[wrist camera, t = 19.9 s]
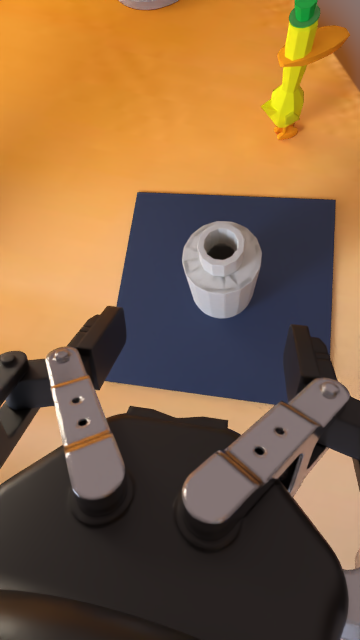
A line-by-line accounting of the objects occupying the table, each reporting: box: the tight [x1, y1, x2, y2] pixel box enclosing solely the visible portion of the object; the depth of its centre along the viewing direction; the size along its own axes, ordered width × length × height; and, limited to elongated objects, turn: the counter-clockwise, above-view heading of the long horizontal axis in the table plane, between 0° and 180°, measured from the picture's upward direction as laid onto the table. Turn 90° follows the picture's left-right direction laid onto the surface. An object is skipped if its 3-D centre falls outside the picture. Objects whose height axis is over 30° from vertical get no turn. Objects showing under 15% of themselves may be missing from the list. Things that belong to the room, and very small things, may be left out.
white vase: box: [182, 221, 262, 318], centre depth 26 cm, size 6×6×10 cm
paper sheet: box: [105, 192, 336, 405], centre depth 31 cm, size 20×20×1 cm
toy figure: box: [261, 0, 350, 140], centre depth 28 cm, size 7×4×12 cm, turn 107°
